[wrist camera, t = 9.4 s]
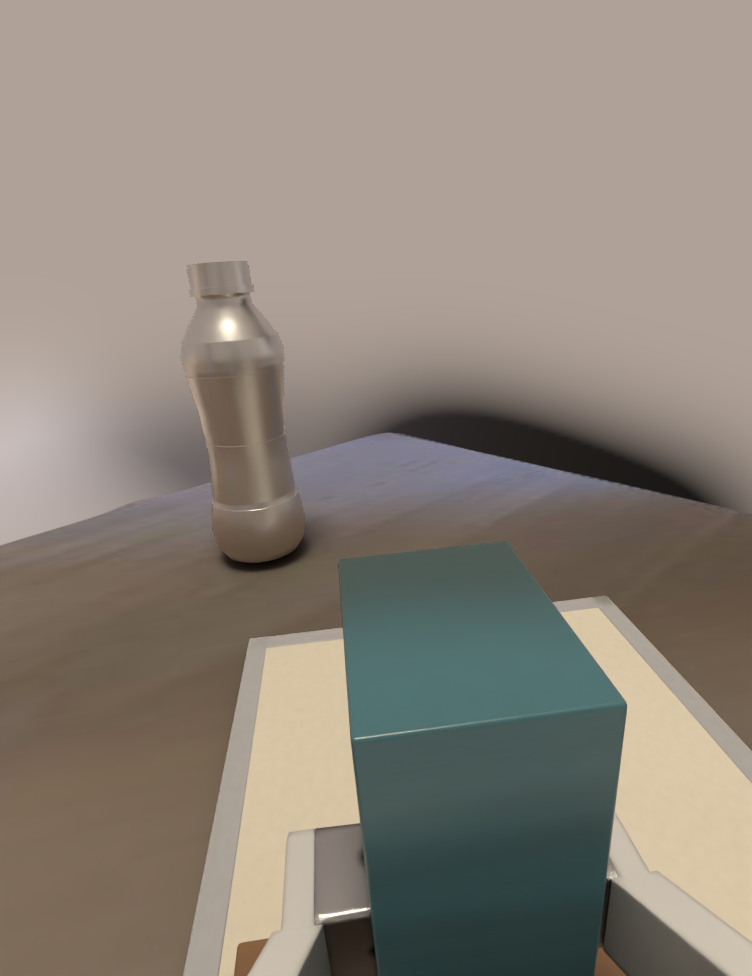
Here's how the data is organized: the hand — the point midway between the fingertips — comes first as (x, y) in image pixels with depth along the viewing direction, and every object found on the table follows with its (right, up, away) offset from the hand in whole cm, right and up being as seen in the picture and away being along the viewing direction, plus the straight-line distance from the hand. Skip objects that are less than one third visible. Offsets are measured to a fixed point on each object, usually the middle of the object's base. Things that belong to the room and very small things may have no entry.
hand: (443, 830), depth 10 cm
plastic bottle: (-10, +2, +30) cm, 31 cm away
